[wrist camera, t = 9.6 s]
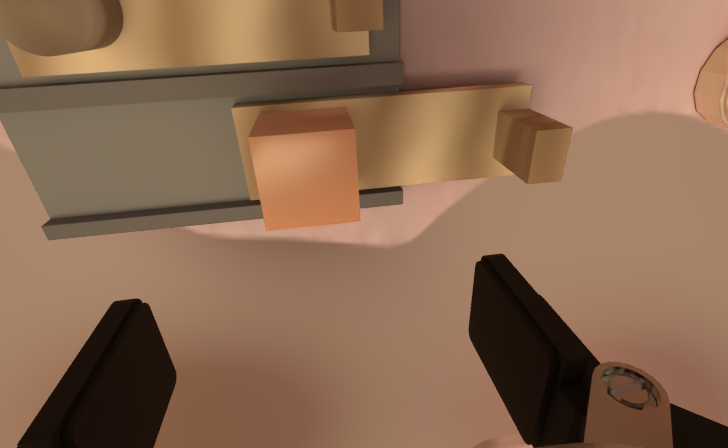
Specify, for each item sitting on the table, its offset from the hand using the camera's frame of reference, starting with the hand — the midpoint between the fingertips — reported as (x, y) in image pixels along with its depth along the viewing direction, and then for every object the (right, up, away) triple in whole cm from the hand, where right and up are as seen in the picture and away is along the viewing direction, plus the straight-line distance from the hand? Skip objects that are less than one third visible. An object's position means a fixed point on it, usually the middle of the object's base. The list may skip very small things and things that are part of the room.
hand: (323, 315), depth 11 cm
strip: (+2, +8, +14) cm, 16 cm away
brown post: (-13, +13, +8) cm, 20 cm away
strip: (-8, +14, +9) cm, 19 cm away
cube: (-2, +7, +12) cm, 14 cm away
